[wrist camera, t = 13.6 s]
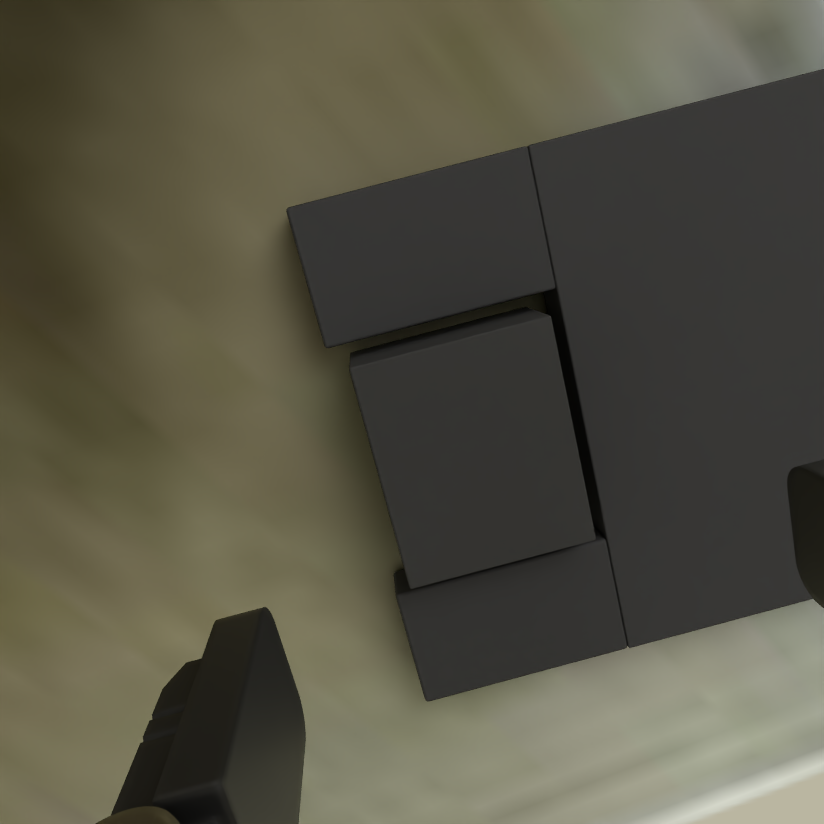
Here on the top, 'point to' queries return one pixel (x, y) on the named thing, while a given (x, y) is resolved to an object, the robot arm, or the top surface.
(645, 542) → the notched block
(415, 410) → the pad
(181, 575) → the top surface
